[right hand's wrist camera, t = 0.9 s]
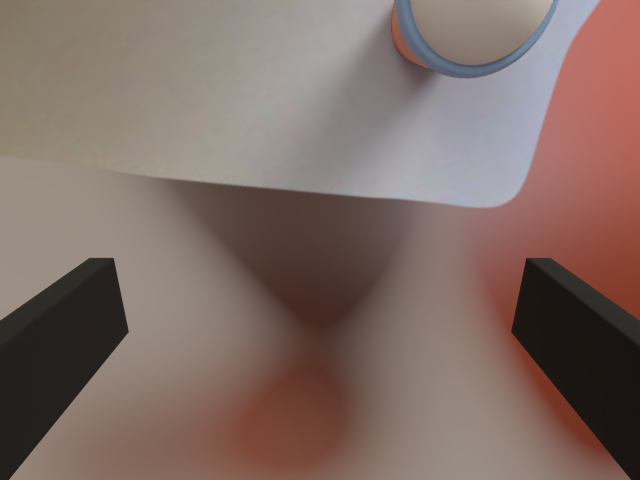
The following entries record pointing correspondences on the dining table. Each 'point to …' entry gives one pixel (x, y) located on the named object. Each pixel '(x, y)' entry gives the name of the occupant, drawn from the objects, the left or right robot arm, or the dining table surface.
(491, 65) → the cup with straw
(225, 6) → the dining table surface
